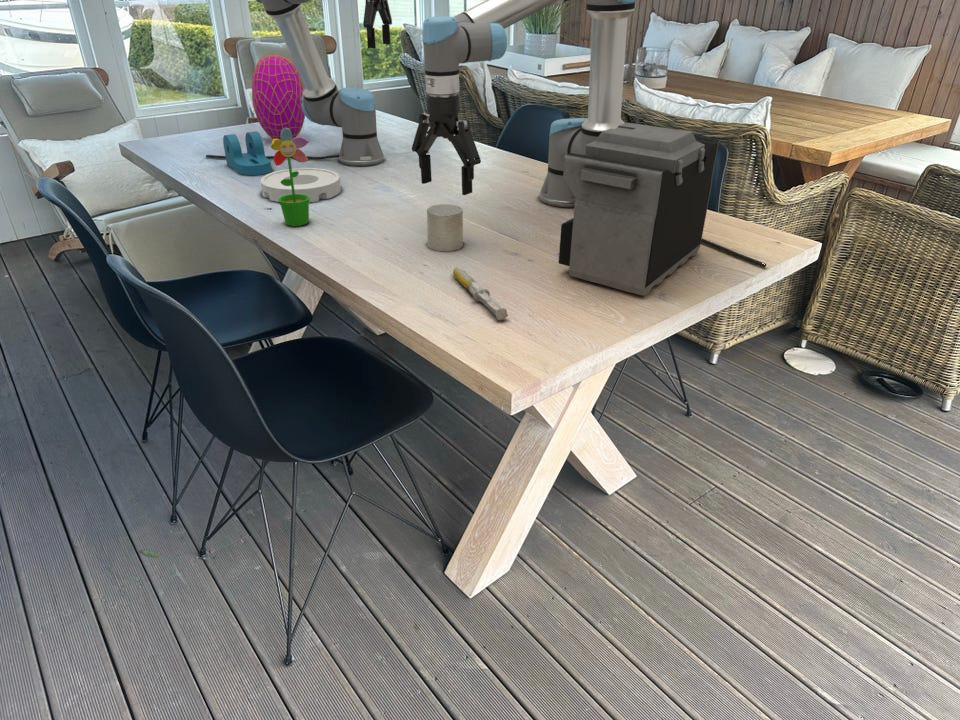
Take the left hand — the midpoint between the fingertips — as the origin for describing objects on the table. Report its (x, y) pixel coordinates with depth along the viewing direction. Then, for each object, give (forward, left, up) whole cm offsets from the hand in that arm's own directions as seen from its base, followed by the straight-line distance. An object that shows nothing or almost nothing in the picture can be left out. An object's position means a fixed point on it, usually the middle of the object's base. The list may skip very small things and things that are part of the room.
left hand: (379, 46), depth 251 cm
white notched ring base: (+4, -72, -33) cm, 79 cm away
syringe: (+75, -127, -33) cm, 151 cm away
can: (+59, -100, -33) cm, 121 cm away
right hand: (+59, -100, -19) cm, 118 cm away
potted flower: (+16, -97, -33) cm, 104 cm away
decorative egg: (-36, -14, -33) cm, 51 cm away
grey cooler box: (+105, -99, -33) cm, 148 cm away
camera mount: (-25, -54, -33) cm, 68 cm away
